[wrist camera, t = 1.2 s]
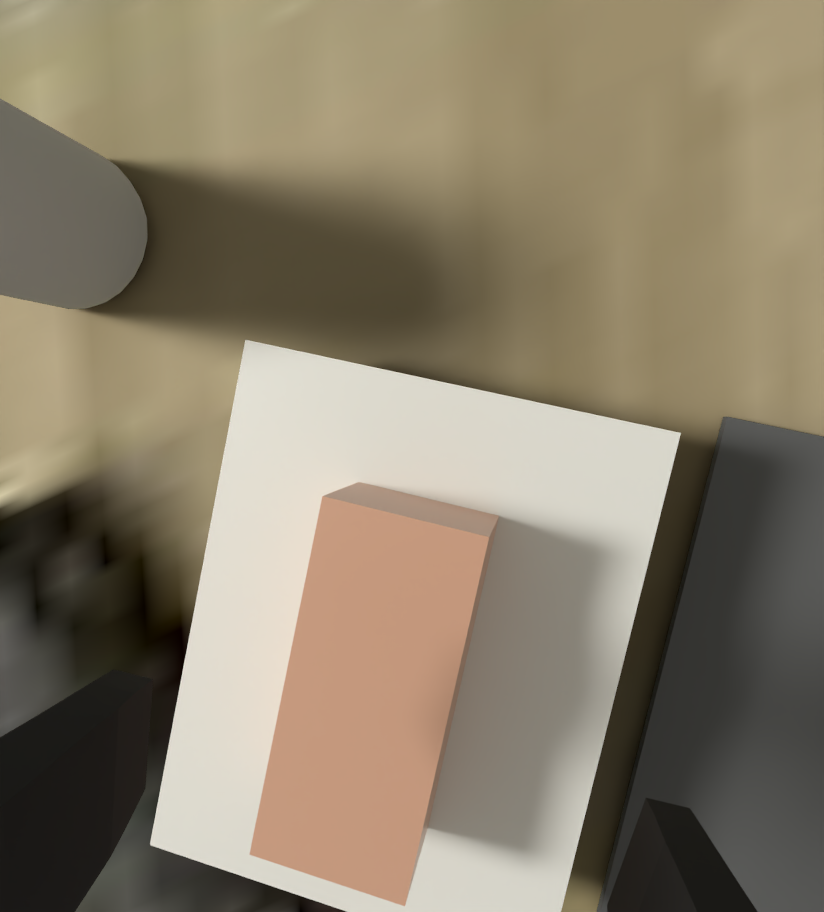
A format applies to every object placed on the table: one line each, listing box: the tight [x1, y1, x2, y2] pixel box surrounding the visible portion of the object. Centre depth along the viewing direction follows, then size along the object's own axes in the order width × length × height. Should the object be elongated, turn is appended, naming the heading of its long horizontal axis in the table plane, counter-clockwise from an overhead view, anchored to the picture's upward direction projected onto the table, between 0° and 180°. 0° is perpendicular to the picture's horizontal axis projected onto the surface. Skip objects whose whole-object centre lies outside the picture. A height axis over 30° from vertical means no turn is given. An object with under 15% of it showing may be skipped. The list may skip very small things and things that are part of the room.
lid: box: [150, 340, 681, 912], centre depth 18 cm, size 14×11×5 cm
